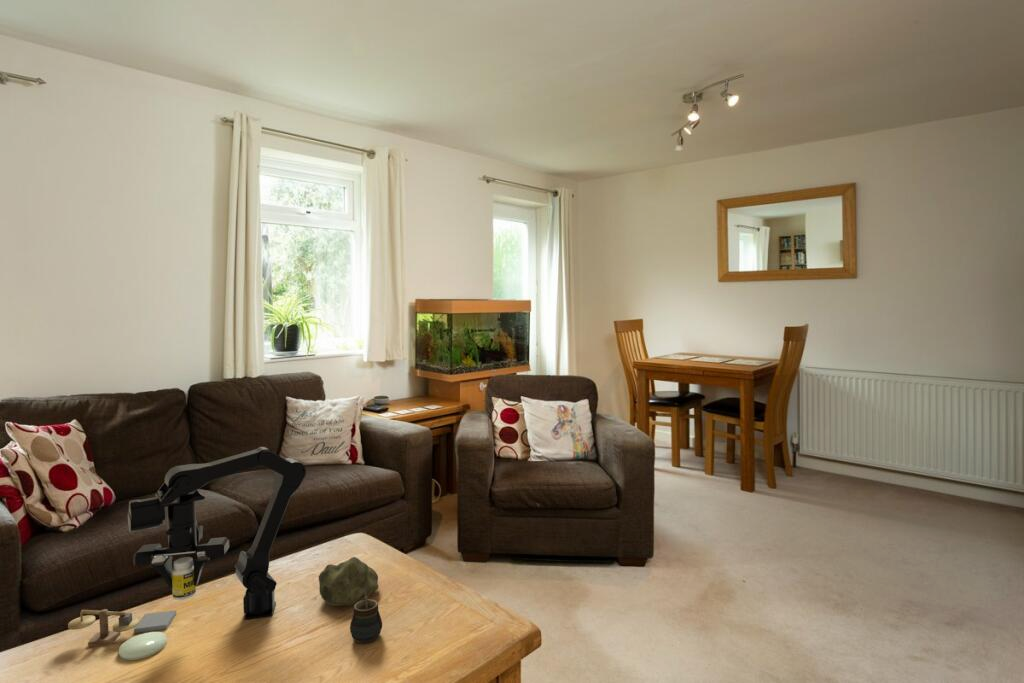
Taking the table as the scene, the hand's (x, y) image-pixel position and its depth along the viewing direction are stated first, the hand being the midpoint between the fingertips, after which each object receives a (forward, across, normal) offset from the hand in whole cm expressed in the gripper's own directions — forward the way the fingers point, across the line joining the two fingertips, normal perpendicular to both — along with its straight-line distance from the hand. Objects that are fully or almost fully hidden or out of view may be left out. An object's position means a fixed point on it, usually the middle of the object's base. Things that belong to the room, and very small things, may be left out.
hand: (184, 586), depth 131 cm
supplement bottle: (+2, 0, 0) cm, 2 cm away
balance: (+12, +18, -3) cm, 22 cm away
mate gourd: (+12, -41, +12) cm, 45 cm away
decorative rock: (+12, -37, -9) cm, 40 cm away
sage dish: (+12, +8, +3) cm, 15 cm away
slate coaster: (+12, +9, -8) cm, 17 cm away
